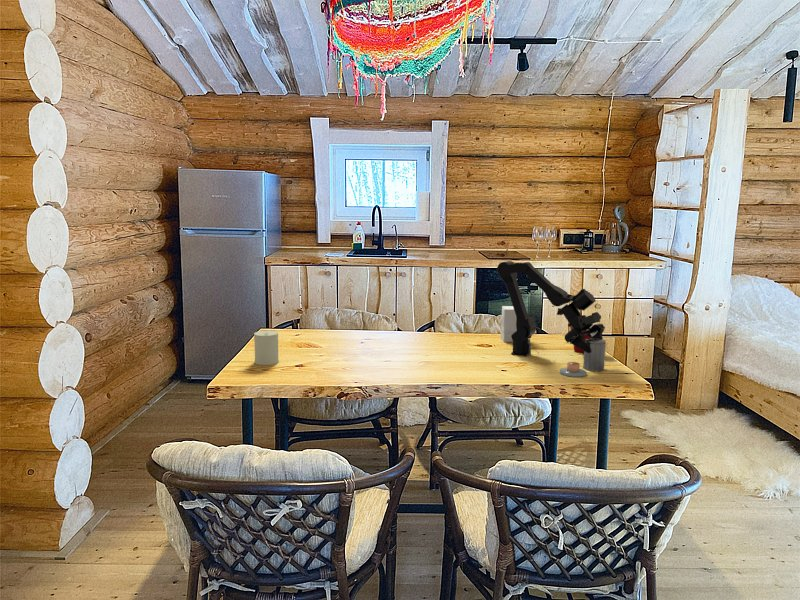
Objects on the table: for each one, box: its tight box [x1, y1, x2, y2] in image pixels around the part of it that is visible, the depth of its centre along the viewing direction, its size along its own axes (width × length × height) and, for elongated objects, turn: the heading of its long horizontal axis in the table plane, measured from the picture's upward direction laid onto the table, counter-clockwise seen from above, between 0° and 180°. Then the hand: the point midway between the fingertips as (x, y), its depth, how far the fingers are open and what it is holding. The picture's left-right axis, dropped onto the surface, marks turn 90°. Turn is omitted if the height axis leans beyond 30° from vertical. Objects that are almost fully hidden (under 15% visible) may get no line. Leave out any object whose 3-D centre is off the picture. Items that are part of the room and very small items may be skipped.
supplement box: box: [500, 305, 517, 343], centre depth 287 cm, size 9×9×15 cm
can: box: [253, 330, 280, 366], centre depth 244 cm, size 9×9×12 cm
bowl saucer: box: [559, 361, 587, 378], centre depth 236 cm, size 10×10×4 cm
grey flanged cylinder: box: [582, 338, 607, 372], centre depth 242 cm, size 7×7×11 cm
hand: (597, 351), depth 241 cm, fingers open, 9 cm apart
